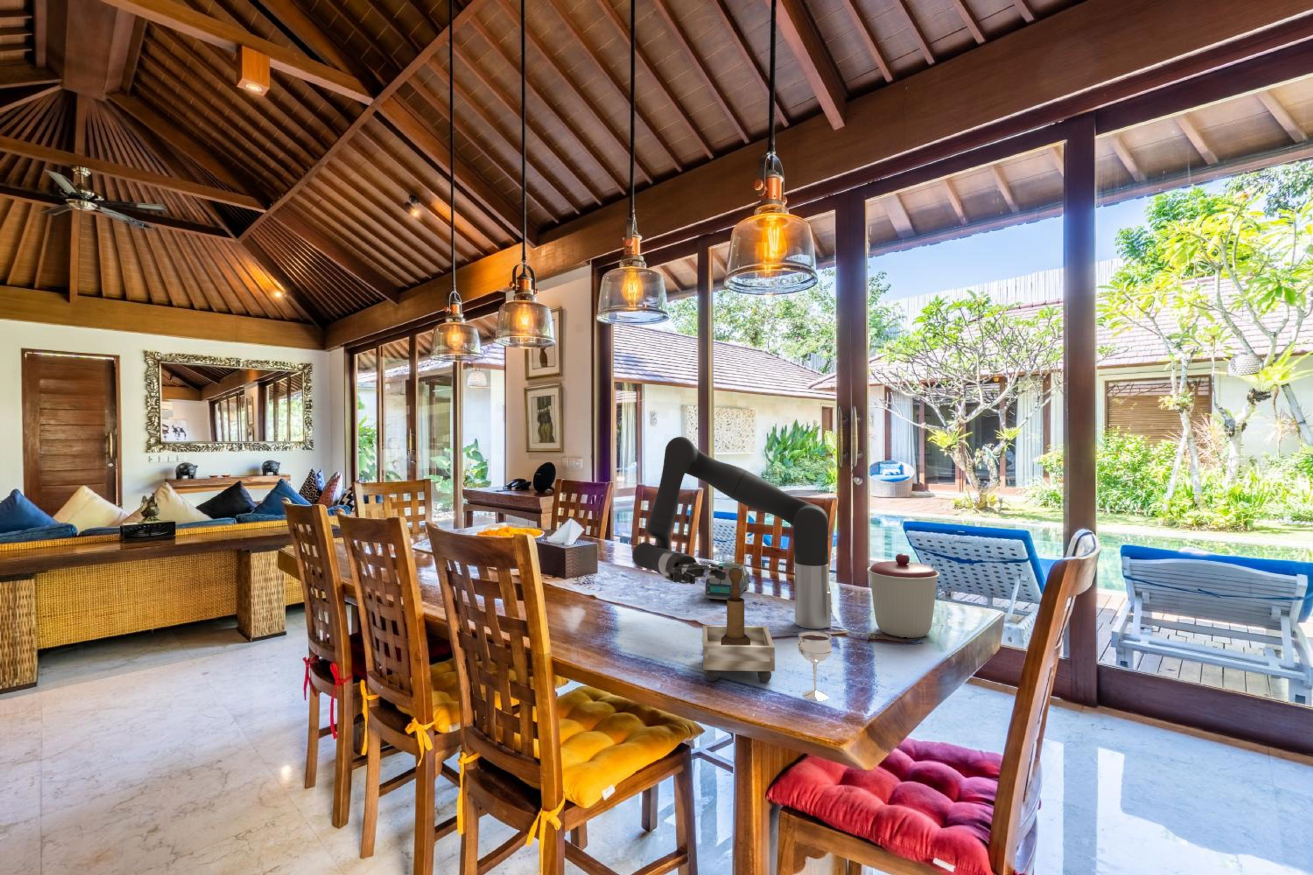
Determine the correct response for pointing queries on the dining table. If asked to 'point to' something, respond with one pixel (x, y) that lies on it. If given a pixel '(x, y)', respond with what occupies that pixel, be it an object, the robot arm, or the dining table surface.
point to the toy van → (726, 583)
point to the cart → (738, 652)
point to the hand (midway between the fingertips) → (709, 577)
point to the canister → (903, 596)
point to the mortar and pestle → (735, 613)
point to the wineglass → (815, 655)
